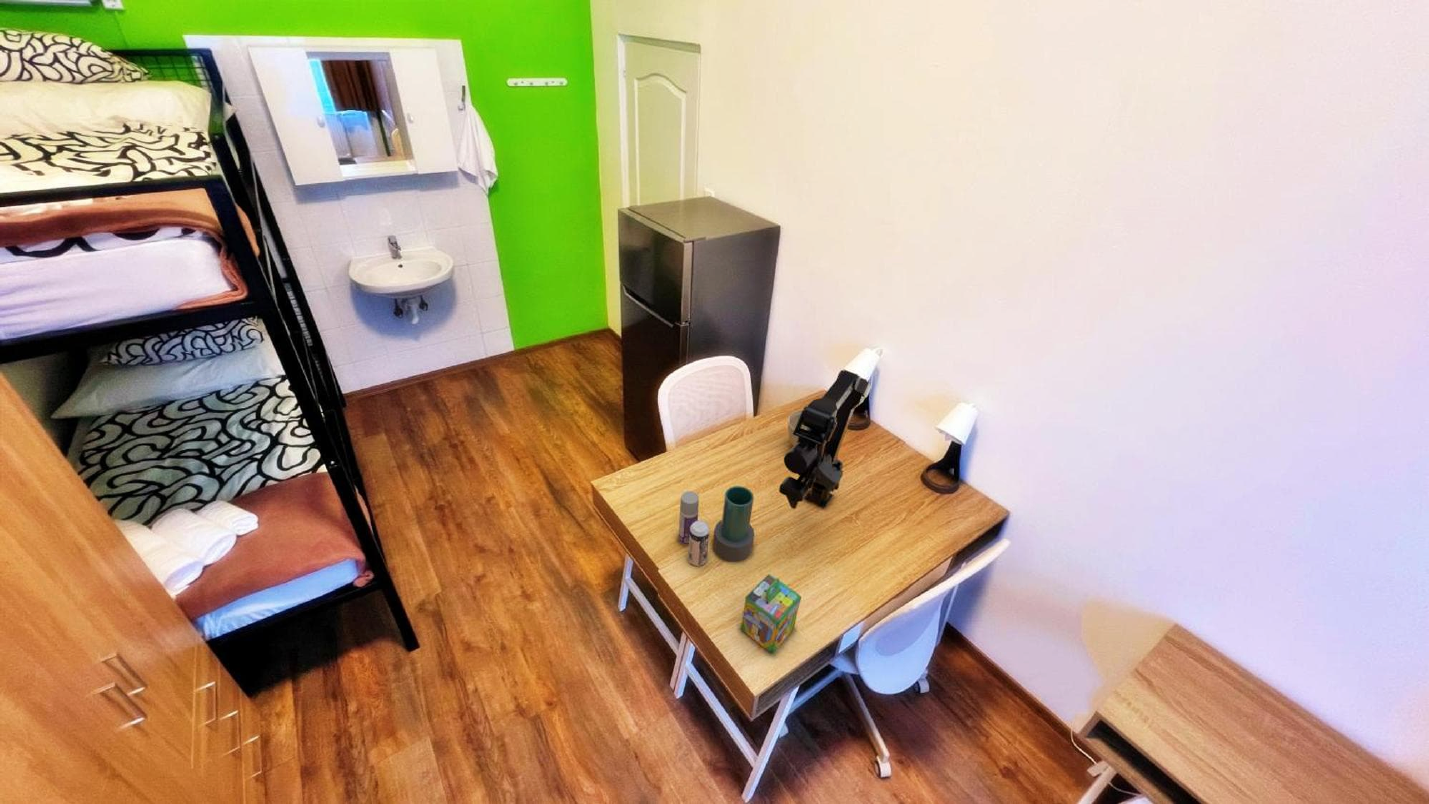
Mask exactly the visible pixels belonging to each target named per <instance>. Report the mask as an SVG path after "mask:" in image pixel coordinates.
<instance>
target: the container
mask: <svg viewBox="0 0 1429 804" xmlns="http://www.w3.org/2000/svg"><path fill="white" fill-rule="evenodd" d="M680 495H681V496H680V504H679V506H680V507H679V519H678V536H677V540H678V542H679V544H681V545H683V546H685V547H689V538H690V527H691V525H692V524H693V523H694V522H695V521H697V520H699V503H700V501H699V500H700V497H699V494H698V493H697V492H695V491H692V490H688V491H684V492H683V493H682V494H680Z"/></svg>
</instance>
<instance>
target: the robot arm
mask: <svg viewBox="0 0 1429 804" xmlns="http://www.w3.org/2000/svg"><path fill="white" fill-rule="evenodd" d="M871 388H872V386H871V384H870V382H869V380H868V379H866V378H863V377H861V375H859V374H858V373H855V372H853V371H849V370H846V369H841V370H840V371H839V372H838V374H837V377H836V379H835V381H834V382H833V383H832V385H831V386H830V387H829V388H828V390H827V391H826V392H825V393H824V395H823V396H822V397H820V398H815V399H812V401H810V402H809V403H808V405H806V406H804V408H803V409H802V410H803V411H802V413H801V415H800V418H799V420H798V423H797V425H796V428H795V430H794V432H793V435H795V436H798V437H799V438H798V441H797V443H796V444H795V445H794V446H793V445H792V447H791V448H790V449H789V450H788V451H787V453H785V455H784V457H783V463H784V466H785V468H786V470H788V471H789V472H790V473H792V474H796V475H797V476H798V478H795V477H792V476H786V477H785V478H784V479H783V480H782V482H781V483H780V484H779V488H778V492H779V494H781V495H783V496H786V499H787V502H788V505H789V506H790V508H791V509H793V510H796V508H797V506H798V504H799V503H800V502H801V503H802V502H804V500H805V501H807V502H809V503H811V504H814V505H816V506H818V507H821V508H822V509H825V508H826V507H827V505H828V504H829V502H830V501H831V500H832V498H833V496H834V495H833V494H832V493H833V492H834V491H836V490H837V491H838V489H839V487H840V483H841V480H842V477H843V475H844V470H843V467H844V463H843V461H841V460H840V459H839V458H838V456H839V453H840V450H841V447H842V444H843V442H844V440H845V436H846V433H847V431H848V428H849V424H850V423H851V419H852V417H853V414H854V412H855V409H857V407H859V406H860V405H861V404H862V403H863V402H864V401H865V399H866V398H867V397H868V396H869V394H870V391H871ZM802 424H803V426H805V427H808V428H807V429H806V430H805V429H802V428H801V426H802Z"/></svg>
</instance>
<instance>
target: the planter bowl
mask: <svg viewBox="0 0 1429 804" xmlns="http://www.w3.org/2000/svg"><path fill="white" fill-rule="evenodd" d="M802 411H803V409H798V410H795V411H793V412H792V413H790V415H789V416H788V419H787V420H788V421H787V423H788V425H787V433H788V438H789V441H790V443H791V445H792V447H793V446H794V445H795V444H796V443H797V441H798V438H799V437H798V436H795V435H793V432H794V430H795V428H796V425H797V423H798V420H799V418H800V415H801V413H802ZM801 428H802V429H805V430H806V429H807V428H808V427H805V426H803V424H802V426H801Z"/></svg>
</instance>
